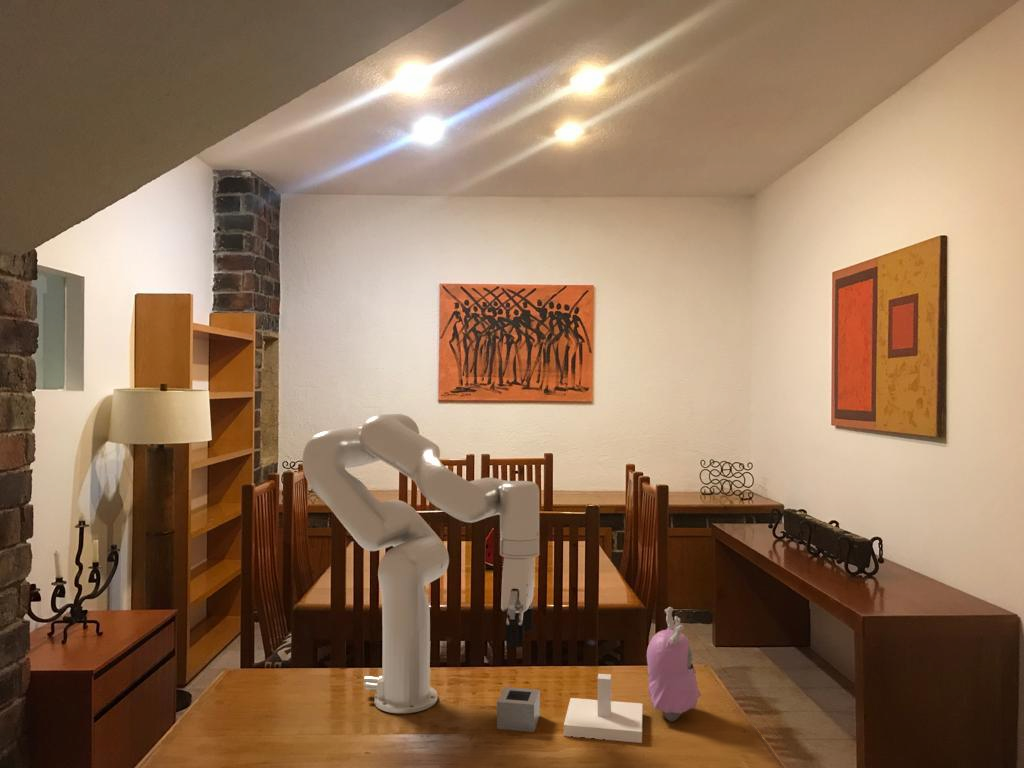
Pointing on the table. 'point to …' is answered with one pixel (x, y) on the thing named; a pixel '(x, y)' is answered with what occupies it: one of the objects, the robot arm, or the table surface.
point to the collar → (518, 709)
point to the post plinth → (604, 716)
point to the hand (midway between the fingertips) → (519, 637)
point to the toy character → (671, 671)
